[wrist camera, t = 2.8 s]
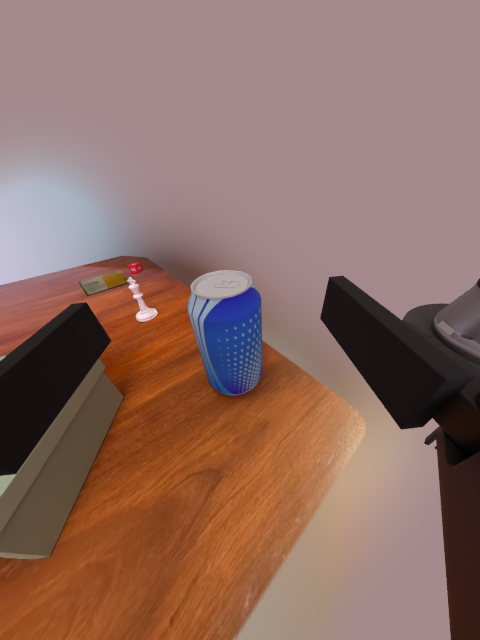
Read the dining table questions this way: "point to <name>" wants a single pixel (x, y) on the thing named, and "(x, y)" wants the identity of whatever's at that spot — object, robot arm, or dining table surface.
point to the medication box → (102, 282)
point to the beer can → (228, 329)
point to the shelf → (56, 470)
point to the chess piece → (141, 304)
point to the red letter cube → (135, 268)
